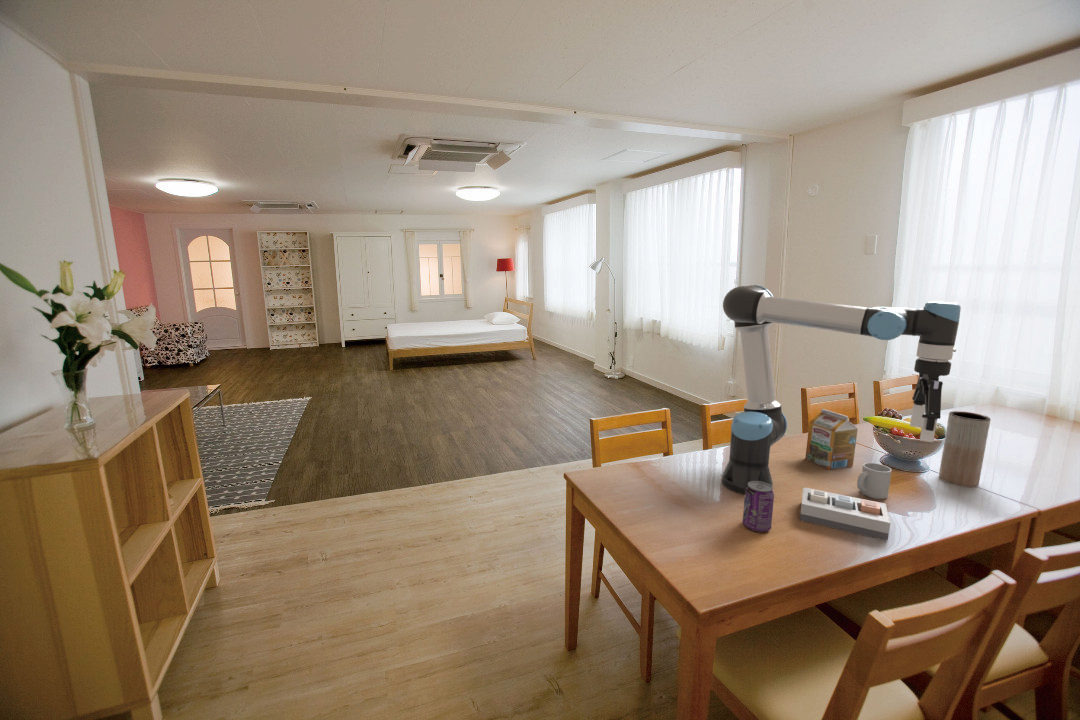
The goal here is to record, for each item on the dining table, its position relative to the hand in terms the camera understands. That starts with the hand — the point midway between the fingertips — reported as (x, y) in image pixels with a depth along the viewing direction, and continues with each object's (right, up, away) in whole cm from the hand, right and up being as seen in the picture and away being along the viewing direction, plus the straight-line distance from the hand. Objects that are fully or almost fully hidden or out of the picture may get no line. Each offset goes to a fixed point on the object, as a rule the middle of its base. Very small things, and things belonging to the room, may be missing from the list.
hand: (920, 433), depth 132 cm
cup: (-4, -22, +15) cm, 27 cm away
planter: (+33, -20, +25) cm, 46 cm away
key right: (-17, -21, -4) cm, 28 cm away
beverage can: (-48, -25, -3) cm, 54 cm away
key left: (-27, -20, +2) cm, 34 cm away
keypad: (-22, -24, 0) cm, 33 cm away
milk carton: (-1, -17, +40) cm, 44 cm away
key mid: (-22, -21, -1) cm, 31 cm away
